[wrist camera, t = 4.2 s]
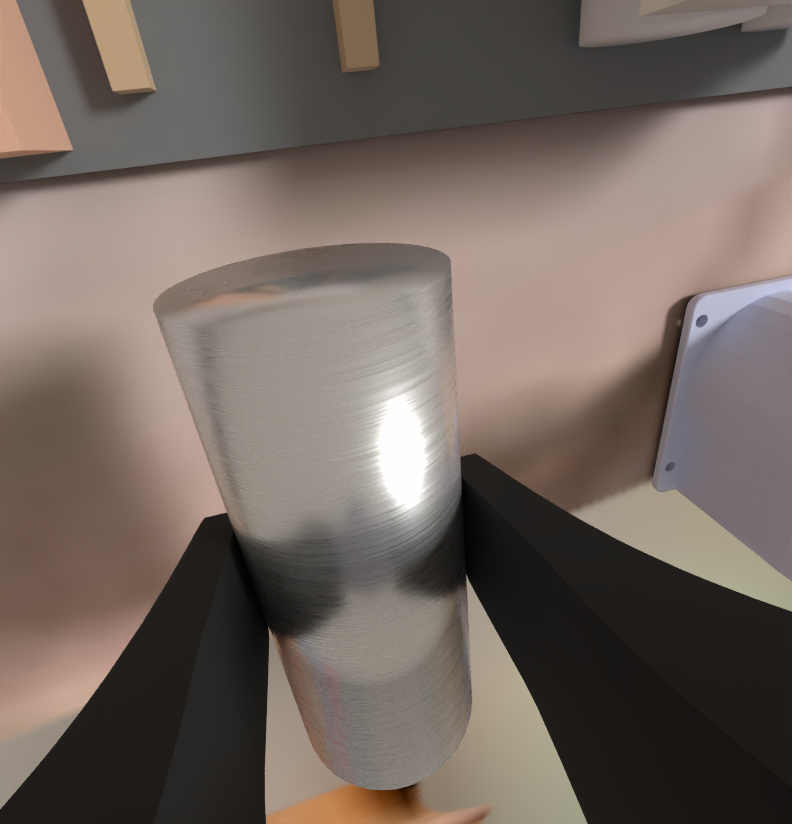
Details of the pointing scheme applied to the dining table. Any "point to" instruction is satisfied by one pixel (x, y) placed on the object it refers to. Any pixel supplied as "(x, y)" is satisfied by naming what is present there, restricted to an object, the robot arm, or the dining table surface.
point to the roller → (342, 485)
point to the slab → (699, 5)
